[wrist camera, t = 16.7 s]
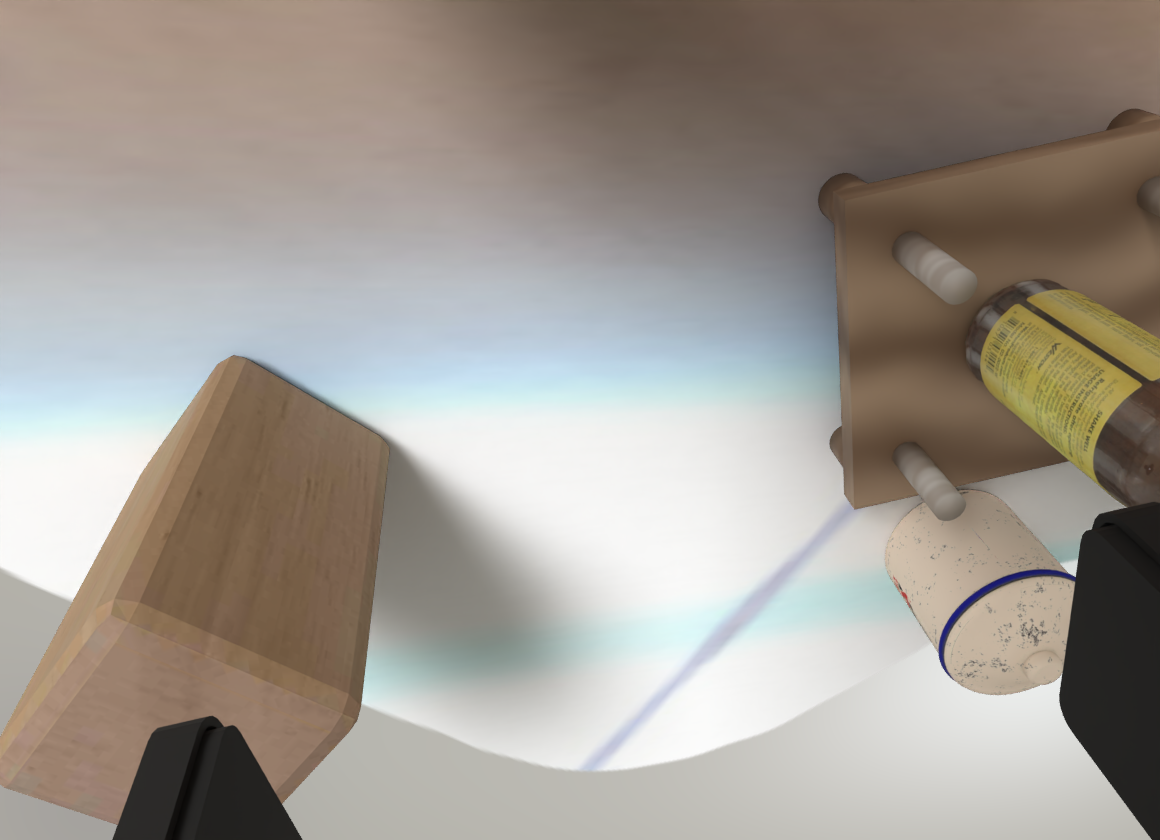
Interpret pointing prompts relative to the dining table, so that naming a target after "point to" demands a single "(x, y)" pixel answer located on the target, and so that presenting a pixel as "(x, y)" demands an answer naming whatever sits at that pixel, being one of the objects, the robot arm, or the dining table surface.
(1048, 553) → the teacup with lid
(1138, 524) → the robot arm
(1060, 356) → the sauce bottle
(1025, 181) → the peg shelf
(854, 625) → the dining table surface
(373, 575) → the wooden block
